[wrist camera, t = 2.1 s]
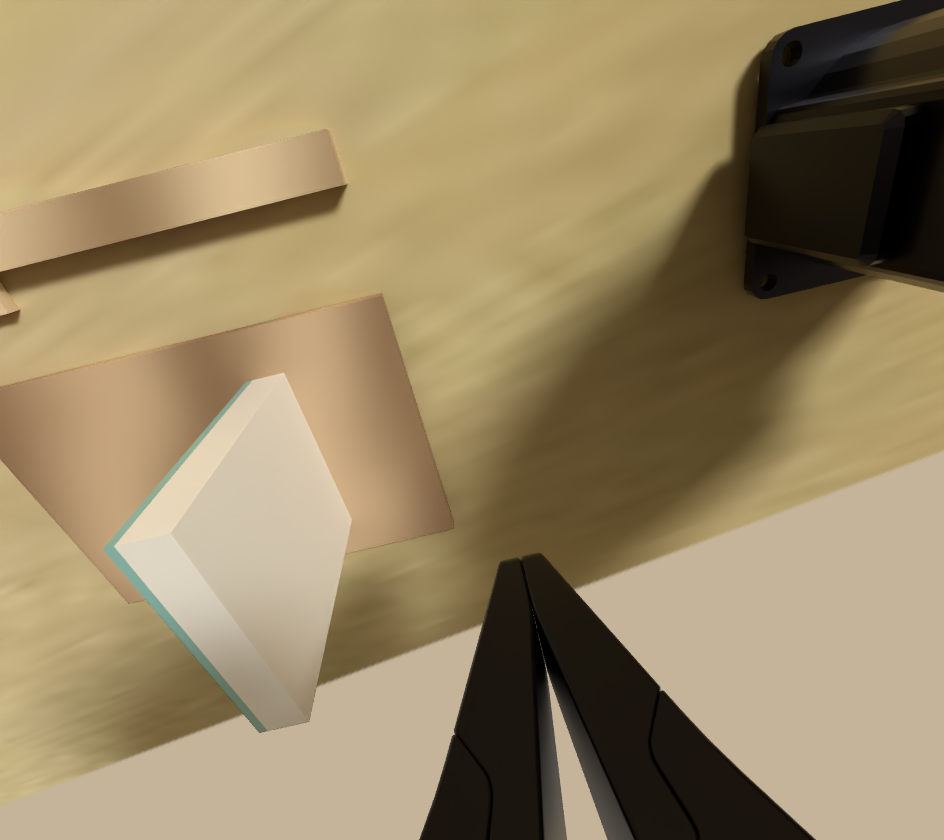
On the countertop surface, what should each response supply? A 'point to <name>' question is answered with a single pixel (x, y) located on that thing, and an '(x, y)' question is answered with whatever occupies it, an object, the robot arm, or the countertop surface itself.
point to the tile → (246, 553)
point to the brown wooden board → (198, 403)
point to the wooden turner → (167, 200)
